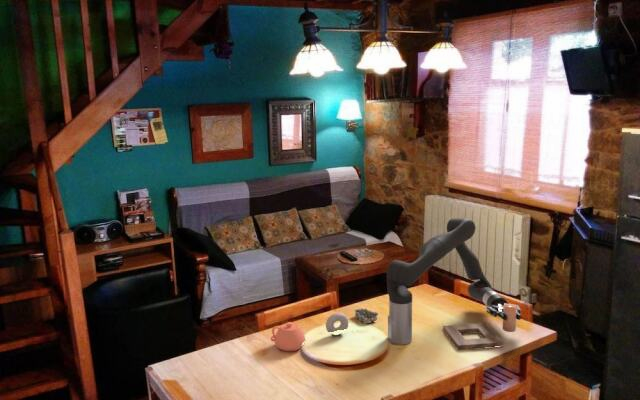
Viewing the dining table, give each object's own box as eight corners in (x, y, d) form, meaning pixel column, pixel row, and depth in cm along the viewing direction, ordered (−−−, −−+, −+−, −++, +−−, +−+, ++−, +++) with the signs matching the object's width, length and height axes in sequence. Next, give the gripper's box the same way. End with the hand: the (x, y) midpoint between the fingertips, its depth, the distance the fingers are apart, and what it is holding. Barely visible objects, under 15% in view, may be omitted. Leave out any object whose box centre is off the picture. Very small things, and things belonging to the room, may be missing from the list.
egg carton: (379, 322, 232) (379, 313, 232) (364, 325, 229) (364, 317, 229) (367, 313, 242) (367, 305, 241) (352, 316, 239) (352, 308, 238)
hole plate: (458, 350, 205) (458, 345, 204) (443, 330, 222) (443, 325, 222) (502, 346, 207) (502, 342, 206) (483, 327, 224) (484, 323, 224)
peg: (505, 332, 210) (507, 308, 208) (500, 327, 215) (501, 304, 213) (517, 331, 211) (519, 308, 209) (512, 326, 216) (513, 303, 214)
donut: (327, 339, 217) (327, 316, 215) (324, 335, 220) (324, 313, 218) (349, 335, 220) (349, 312, 218) (346, 331, 223) (346, 309, 221)
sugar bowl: (301, 355, 204) (300, 330, 202) (266, 352, 207) (265, 328, 205) (308, 341, 216) (307, 317, 214) (275, 338, 218) (274, 315, 217)
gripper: (479, 294, 224) (496, 310, 208) (511, 293, 226) (530, 308, 209) (478, 311, 226) (495, 327, 209) (510, 309, 227) (529, 325, 211)
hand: (512, 317), depth 209 cm, fingers closed on peg, 5 cm apart
